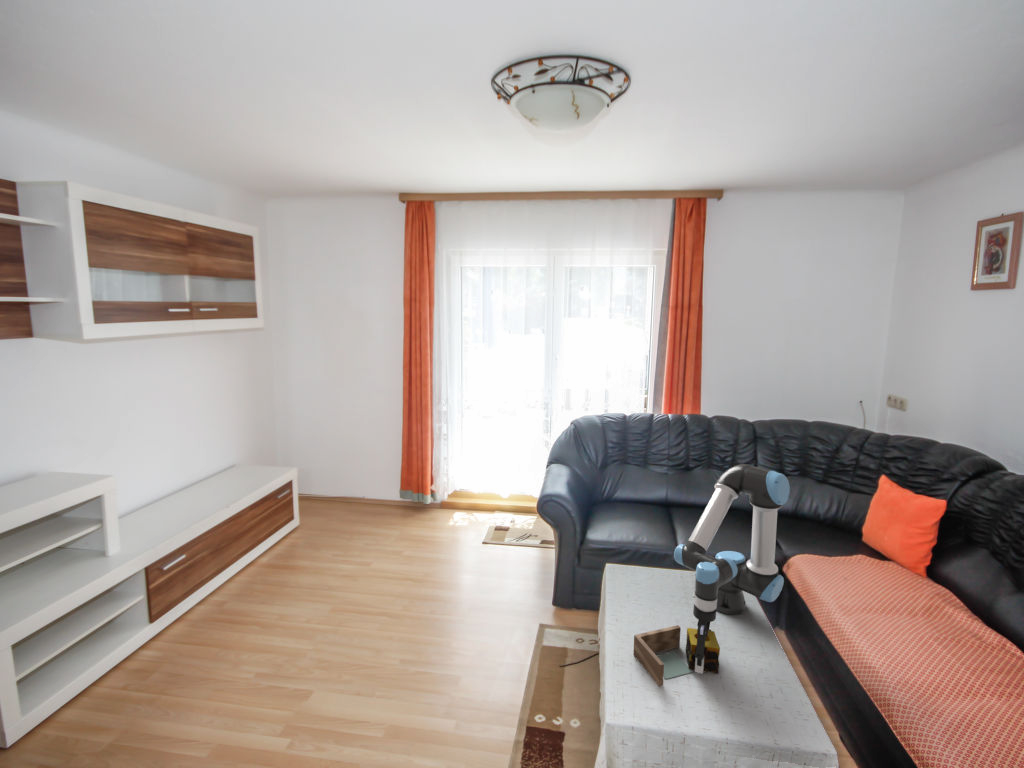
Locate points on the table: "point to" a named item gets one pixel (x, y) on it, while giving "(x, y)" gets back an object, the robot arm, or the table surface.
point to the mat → (673, 665)
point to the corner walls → (655, 649)
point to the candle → (709, 652)
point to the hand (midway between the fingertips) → (701, 660)
